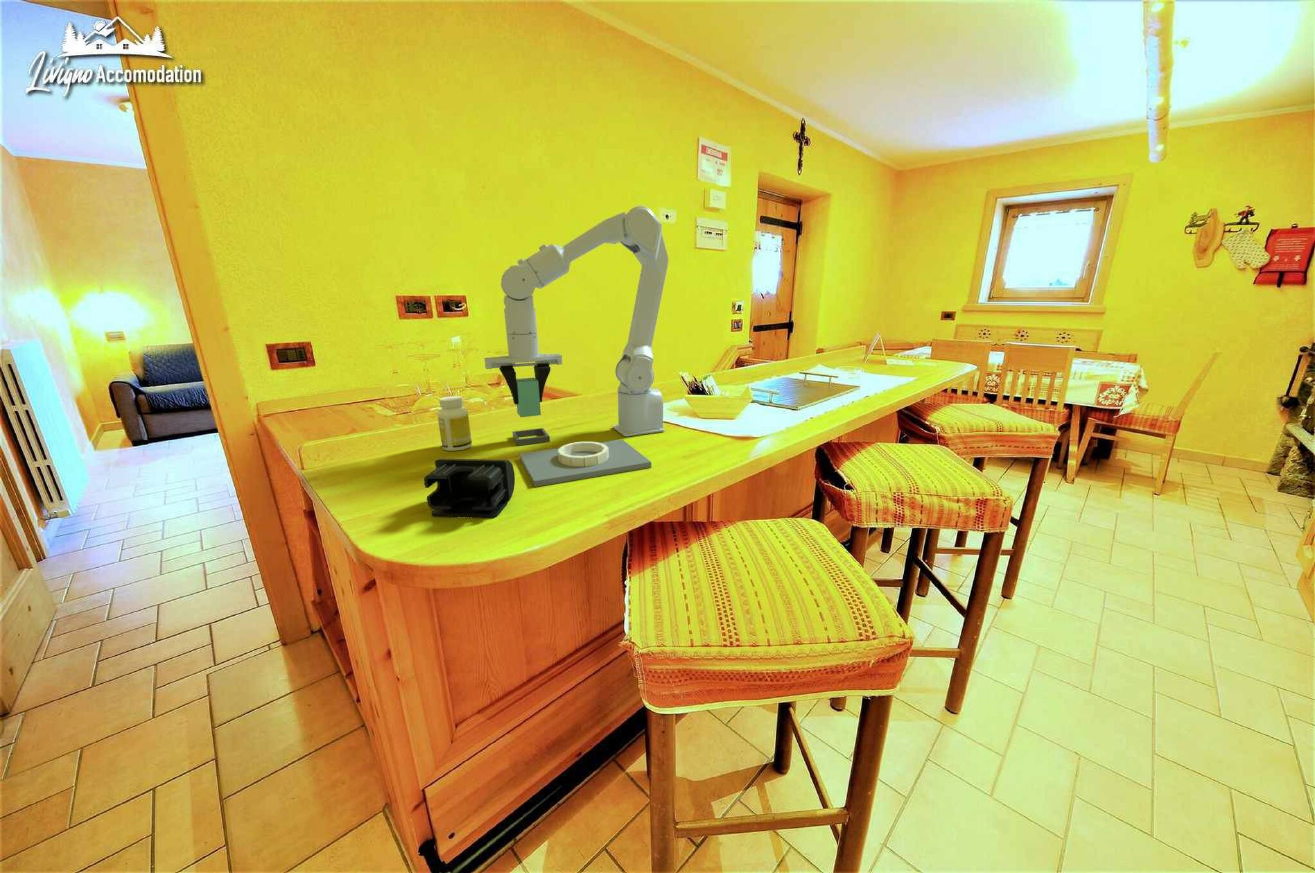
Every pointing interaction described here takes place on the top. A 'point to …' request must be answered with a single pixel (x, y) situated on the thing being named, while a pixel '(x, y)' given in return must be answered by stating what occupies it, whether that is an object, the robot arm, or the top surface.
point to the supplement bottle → (454, 424)
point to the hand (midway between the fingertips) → (527, 402)
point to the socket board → (564, 473)
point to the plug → (528, 397)
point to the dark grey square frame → (528, 433)
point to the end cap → (470, 487)
